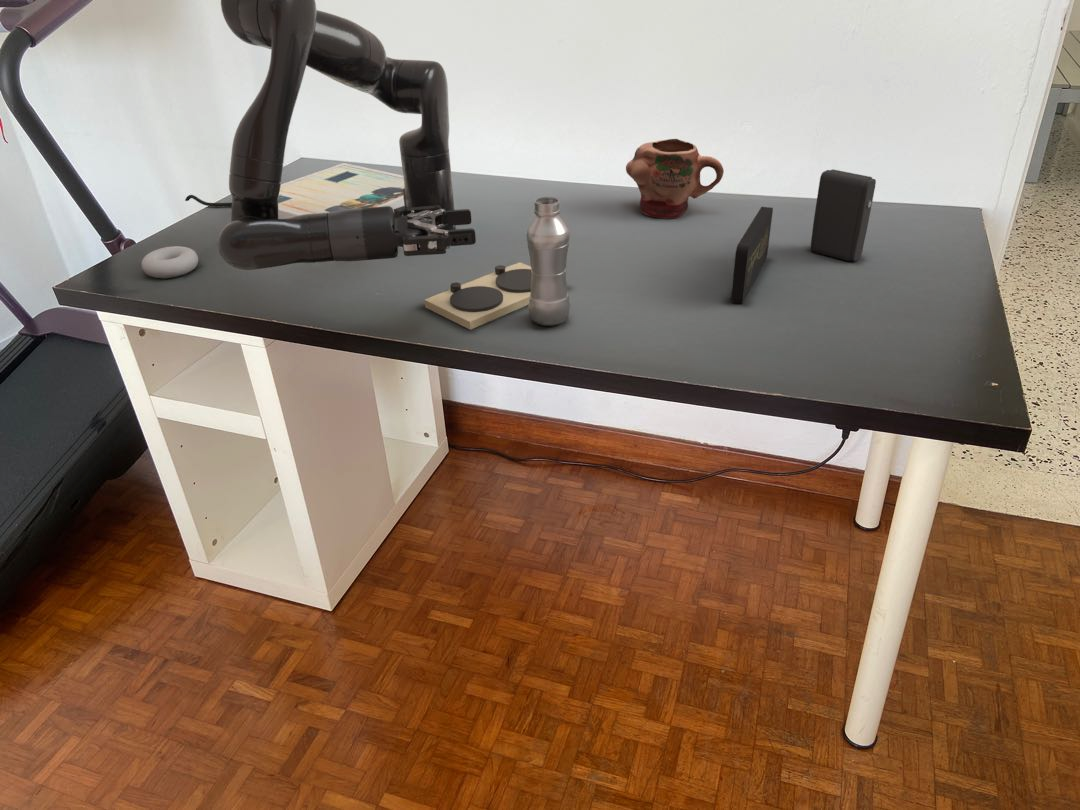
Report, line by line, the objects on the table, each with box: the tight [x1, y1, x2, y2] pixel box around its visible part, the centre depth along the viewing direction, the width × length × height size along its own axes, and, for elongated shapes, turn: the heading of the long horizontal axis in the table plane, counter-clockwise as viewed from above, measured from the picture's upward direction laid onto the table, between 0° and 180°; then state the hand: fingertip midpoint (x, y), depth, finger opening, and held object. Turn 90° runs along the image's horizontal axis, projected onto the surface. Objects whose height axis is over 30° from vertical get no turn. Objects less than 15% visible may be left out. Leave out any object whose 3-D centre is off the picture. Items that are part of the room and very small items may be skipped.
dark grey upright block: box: [810, 168, 877, 262], centre depth 151 cm, size 9×4×15 cm, turn 47°
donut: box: [141, 245, 199, 279], centre depth 157 cm, size 10×4×10 cm
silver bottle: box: [526, 196, 571, 327], centre depth 130 cm, size 6×7×20 cm
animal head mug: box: [625, 138, 725, 219], centre depth 173 cm, size 20×12×14 cm, turn 77°
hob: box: [424, 261, 532, 331], centre depth 143 cm, size 12×22×3 cm, turn 134°
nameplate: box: [730, 206, 774, 304], centre depth 144 cm, size 21×2×10 cm, turn 156°
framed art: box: [278, 162, 405, 219], centre depth 184 cm, size 30×4×30 cm
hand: (473, 226), depth 125 cm, fingers open, 8 cm apart
